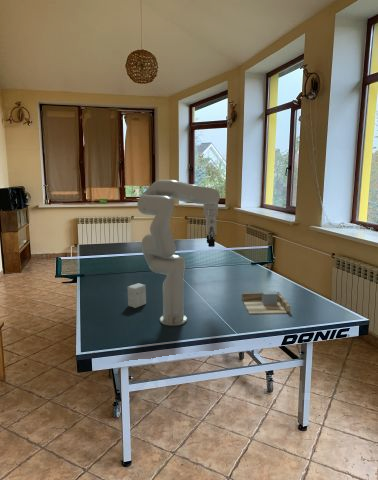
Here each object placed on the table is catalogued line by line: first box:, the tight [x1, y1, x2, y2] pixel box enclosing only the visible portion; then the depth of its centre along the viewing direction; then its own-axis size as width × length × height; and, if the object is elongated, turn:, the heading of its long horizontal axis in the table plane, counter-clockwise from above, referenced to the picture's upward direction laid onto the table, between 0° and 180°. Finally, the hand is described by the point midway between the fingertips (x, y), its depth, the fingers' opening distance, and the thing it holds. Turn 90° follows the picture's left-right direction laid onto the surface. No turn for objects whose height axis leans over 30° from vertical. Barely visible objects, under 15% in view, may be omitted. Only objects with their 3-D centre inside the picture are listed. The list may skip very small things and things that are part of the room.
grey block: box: [261, 290, 278, 305], centre depth 195 cm, size 7×4×6 cm, turn 92°
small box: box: [126, 282, 147, 309], centre depth 196 cm, size 8×6×10 cm
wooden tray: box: [241, 291, 291, 315], centre depth 193 cm, size 20×20×4 cm
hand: (210, 244), depth 198 cm, fingers open, 9 cm apart
